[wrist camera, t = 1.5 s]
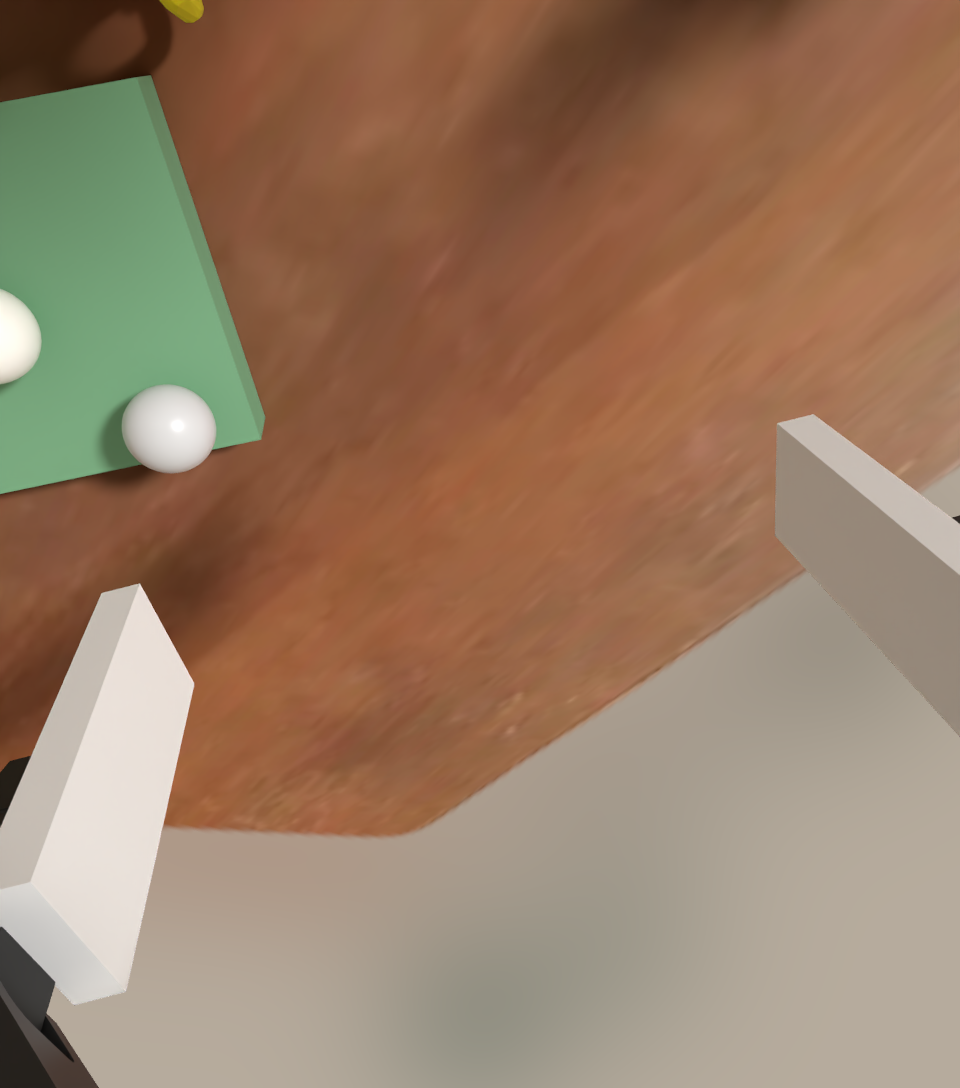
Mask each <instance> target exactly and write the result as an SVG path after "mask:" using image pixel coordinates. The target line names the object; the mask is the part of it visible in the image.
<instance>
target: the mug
mask: <svg viewBox="0 0 960 1088" xmlns="http://www.w3.org/2000/svg"><path fill="white" fill-rule="evenodd" d="M159 1H160V2H161V3H162V4H163V5H164V7H165V8H166V9H167V10H169V11H170V12H172V13H173V14H174V15H176V16H177V17H179V18H180V19H181V20H183V21H184V22H186V23H194V22H195V21H197V20H198V19H199V18H201V17H202V15H203V11H204V7H203V4H202V0H159Z"/></svg>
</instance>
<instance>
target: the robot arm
mask: <svg viewBox="0 0 960 1088" xmlns="http://www.w3.org/2000/svg"><path fill="white" fill-rule="evenodd" d="M775 536H776V537H777V538H778V539H779V541H780V542H781V543H782V544H783V545H784V546H785V547H786V548H787V549H788V550H789V551H790V553H791V554H792V555H793V556H794V557H795V558H796V559H797V560H798V561H799V562H800V563H801V564H802V566H803V567H804V568H805V569H806V570H807V571H808V572H809V573H810V574H811V575H812V576H813V578H814V579H815V580H816V581H817V582H818V583H819V584H820V585H821V586H822V587H823V588H824V590H825V591H826V592H827V593H828V594H829V595H830V596H831V597H832V598H833V599H834V600H835V601H836V603H837V604H838V605H839V606H840V607H841V608H842V609H843V610H844V611H845V612H846V613H847V615H848V616H849V617H850V618H851V619H852V620H853V621H854V622H855V623H856V624H857V625H858V626H859V628H860V629H861V630H862V631H863V632H864V633H865V634H866V635H867V636H868V637H869V639H871V641H872V642H873V643H874V644H875V645H876V646H877V647H878V648H879V649H880V650H881V652H882V653H883V654H884V655H885V656H886V657H887V658H888V659H889V660H890V661H891V662H892V664H893V665H894V666H895V667H896V668H897V669H898V670H899V671H900V672H901V673H902V674H903V676H904V677H905V678H906V679H907V680H908V681H909V682H910V683H911V684H912V685H913V686H914V688H915V689H916V690H917V691H918V692H919V693H920V694H921V695H922V696H923V697H924V698H925V699H926V701H927V702H928V703H929V704H930V705H931V706H932V707H933V708H934V709H935V710H936V711H937V713H938V714H939V715H940V716H941V717H942V718H943V719H944V720H945V721H946V722H947V723H948V725H949V726H950V727H951V728H952V729H953V730H954V731H955V732H956V733H957V734H958V735H959V737H960V516H957V517H953V518H951V517H950V516H949V515H947V514H946V513H944V512H943V511H942V510H941V509H939V508H938V507H936V506H935V505H934V504H932V503H931V502H930V501H928V500H927V499H926V498H924V497H923V496H922V495H920V494H919V493H918V492H916V491H915V490H914V489H912V488H911V487H910V486H908V485H907V484H906V483H904V482H903V481H902V480H900V479H899V478H898V477H896V476H895V475H894V474H892V473H891V472H890V471H888V470H887V469H886V468H884V467H883V466H882V465H880V464H879V463H878V462H876V461H875V460H874V459H872V458H871V457H870V456H868V455H867V454H866V453H864V452H863V451H862V450H860V449H859V448H858V447H856V446H855V445H854V444H852V443H851V442H850V441H848V440H847V439H846V438H844V437H843V436H842V435H840V434H839V433H838V432H836V431H835V430H834V429H832V428H831V427H830V426H828V425H827V424H826V423H824V422H823V421H822V420H820V419H819V418H818V417H816V416H815V415H814V414H813V415H809V416H805V417H801V418H797V419H793V420H789V421H785V422H781V423H777V456H776V505H775ZM193 688H194V682H193V680H192V678H191V677H190V675H189V673H188V671H187V669H186V667H185V666H184V664H183V662H182V660H181V658H180V656H179V655H178V653H177V651H176V649H175V647H174V645H173V644H172V642H171V640H170V638H169V636H168V634H167V633H166V631H165V629H164V627H163V625H162V623H161V622H160V620H159V618H158V616H157V614H156V612H155V611H154V609H153V607H152V605H151V603H150V601H149V600H148V598H147V596H146V594H145V592H144V590H143V589H142V587H141V585H140V584H136V585H132V586H128V587H124V588H120V589H116V590H112V591H108V592H104V593H101V596H100V598H99V600H98V603H97V605H96V607H95V610H94V612H93V614H92V617H91V619H90V621H89V624H88V626H87V628H86V631H85V633H84V635H83V637H82V640H81V642H80V644H79V647H78V649H77V651H76V654H75V656H74V658H73V661H72V663H71V665H70V668H69V670H68V672H67V675H66V677H65V679H64V681H63V684H62V686H61V688H60V691H59V693H58V695H57V698H56V700H55V702H54V705H53V707H52V709H51V712H50V714H49V716H48V719H47V721H46V723H45V725H44V728H43V730H42V732H41V735H40V737H39V739H38V742H37V744H36V746H35V749H34V751H33V753H32V756H28V757H24V758H20V759H16V760H13V761H10V762H9V763H8V764H7V765H6V766H5V768H4V769H3V770H2V771H1V772H0V1088H99V1087H98V1086H97V1084H96V1083H95V1081H94V1080H93V1078H92V1077H91V1075H90V1074H89V1072H88V1071H87V1069H86V1068H85V1066H84V1065H83V1063H82V1062H81V1060H80V1058H79V1057H78V1055H77V1054H76V1053H75V1051H74V1049H73V1048H72V1046H71V1045H70V1043H69V1042H68V1040H67V1039H66V1037H65V1036H64V1034H63V1033H62V1031H61V1029H60V1028H59V1026H58V1025H57V1023H56V1022H55V1021H53V1019H51V1017H50V1016H48V1015H47V1014H46V1012H47V1009H48V1006H49V1002H50V999H51V996H52V992H53V989H54V986H56V987H57V988H58V989H59V990H60V991H61V992H62V993H63V994H64V995H65V996H66V997H67V998H68V999H69V1000H70V1002H71V1003H72V1004H73V1005H78V1004H81V1003H85V1002H89V1001H93V1000H96V999H100V998H104V997H108V996H111V995H115V994H119V993H123V992H126V990H127V985H128V980H129V976H130V972H131V967H132V962H133V958H134V953H135V949H136V944H137V940H138V935H139V931H140V926H141V922H142V917H143V913H144V908H145V903H146V899H147V895H148V890H149V886H150V881H151V877H152V872H153V868H154V863H155V859H156V854H157V850H158V845H159V841H160V836H161V832H162V827H163V823H164V818H165V814H166V809H167V805H168V800H169V796H170V791H171V787H172V782H173V778H174V773H175V769H176V764H177V760H178V755H179V751H180V746H181V742H182V737H183V733H184V728H185V724H186V719H187V715H188V710H189V706H190V701H191V697H192V692H193Z"/></svg>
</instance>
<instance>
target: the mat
mask: <svg viewBox="0 0 960 1088" xmlns="http://www.w3.org/2000/svg"><path fill="white" fill-rule="evenodd" d="M0 289H2V290H4V291H7V292H9V293H10V294H12V295H14V296H15V297H17V298H18V299H19V300H21V301H22V302H23V303H24V304H25V305H26V306H27V307H28V308H29V310H30V311H31V312H32V314H33V315H34V317H35V319H36V320H37V323H38V325H39V328H40V332H41V339H42V344H41V351H40V354H39V357H38V359H37V361H36V363H35V364H34V366H33V367H32V368H31V370H30V371H28V372H27V373H26V374H25V375H24V376H22V377H20V378H19V379H16V380H14V381H12V382H8V383H5V384H0V494H2V493H7V492H12V491H16V490H21V489H26V488H31V487H36V486H40V485H45V484H50V483H55V482H60V481H64V480H69V479H74V478H79V477H83V476H88V475H93V474H98V473H103V472H107V471H112V470H117V469H122V468H127V467H131V466H136V465H141V463H140V462H139V461H138V460H137V459H136V458H135V457H134V456H133V455H132V454H131V453H130V451H129V450H128V448H127V446H126V444H125V441H124V439H123V435H122V418H123V414H124V412H125V409H126V407H127V405H128V404H129V402H130V401H131V400H132V399H133V398H134V397H135V396H136V395H137V394H138V393H140V392H141V391H143V390H145V389H147V388H149V387H152V386H156V385H163V384H170V385H177V386H181V387H184V388H187V389H189V390H191V391H193V392H194V393H196V394H197V395H198V396H200V397H201V398H202V399H203V400H204V401H205V402H206V404H207V405H208V406H209V408H210V410H211V411H212V414H213V416H214V419H215V423H216V439H215V443H214V446H213V448H212V450H213V449H218V448H222V447H227V446H232V445H237V444H242V443H246V442H251V441H256V440H261V437H262V432H263V426H264V421H265V415H264V412H263V409H262V406H261V403H260V400H259V397H258V394H257V391H256V388H255V385H254V382H253V379H252V376H251V373H250V370H249V367H248V364H247V361H246V358H245V355H244V352H243V349H242V346H241V343H240V340H239V337H238V334H237V331H236V328H235V325H234V322H233V319H232V316H231V313H230V310H229V307H228V304H227V301H226V298H225V295H224V292H223V289H222V287H221V284H220V281H219V278H218V275H217V272H216V269H215V266H214V263H213V260H212V257H211V254H210V251H209V248H208V245H207V242H206V239H205V236H204V233H203V230H202V227H201V224H200V221H199V218H198V215H197V212H196V209H195V206H194V203H193V200H192V197H191V194H190V191H189V188H188V185H187V182H186V179H185V176H184V173H183V170H182V167H181V164H180V161H179V158H178V155H177V152H176V149H175V146H174V143H173V140H172V137H171V134H170V131H169V128H168V125H167V122H166V119H165V116H164V113H163V110H162V107H161V104H160V101H159V98H158V95H157V92H156V89H155V86H154V83H153V80H152V77H151V75H149V76H141V77H134V78H129V79H124V80H118V81H113V82H108V83H102V84H97V85H91V86H86V87H81V88H75V89H70V90H65V91H59V92H54V93H48V94H43V95H38V96H32V97H27V98H22V99H16V100H11V101H5V102H0Z"/></svg>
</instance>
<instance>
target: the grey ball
mask: <svg viewBox="0 0 960 1088" xmlns="http://www.w3.org/2000/svg"><path fill="white" fill-rule="evenodd" d="M122 435H123V439H124V441H125V444H126V446H127V448H128V450H129V451H130V453H131V454H132V455H133V456H134V457H135V458H136V459H137V460H138V461H139V462H140V463H141V464H143V465H144V466H146V467H148V468H150V469H152V470H155V471H158V472H163V473H180V472H184V471H188V470H190V469H192V468H194V467H196V466H198V465H199V464H200V463H202V462H203V461H204V460H205V459H206V458H207V457H208V455H209V454H210V452H211V450H212V448H213V446H214V443H215V439H216V423H215V419H214V416H213V414H212V411H211V410H210V408H209V406H208V405H207V404H206V402H205V401H204V400H203V399H202V398H201V397H200V396H198V395H197V394H196V393H194V392H193V391H191V390H189V389H187V388H184V387H181V386H177V385H170V384H163V385H156V386H152V387H149V388H147V389H145V390H143V391H141V392H140V393H138V394H137V395H136V396H135V397H134V398H133V399H132V400H131V401H130V402H129V404H128V405H127V407H126V409H125V412H124V414H123V418H122Z"/></svg>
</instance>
